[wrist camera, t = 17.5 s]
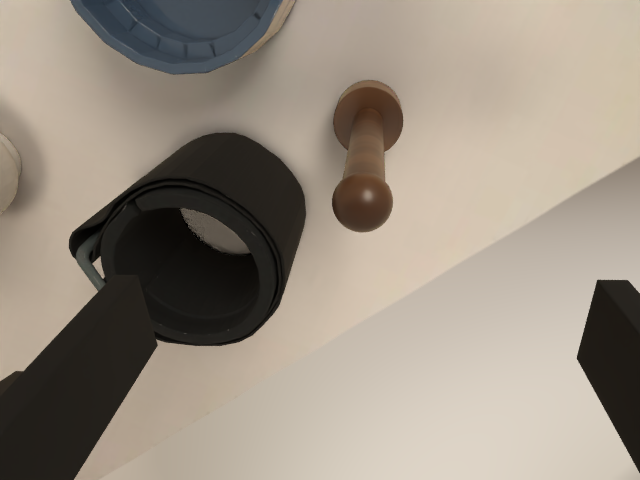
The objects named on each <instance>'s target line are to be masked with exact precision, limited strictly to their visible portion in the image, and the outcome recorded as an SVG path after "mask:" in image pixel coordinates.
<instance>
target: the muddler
mask: <svg viewBox="0 0 640 480" xmlns="http://www.w3.org/2000/svg"><path fill="white" fill-rule="evenodd" d="M333 124H334V131H335V134H336V136H337V138H338V140H339V142H340V143H341V144H342V145H343V146H344V147H345V148H346V149H347V150H348V152H347V158H346V163H345V169H344V174H343V179H342V180H341V181H340V182H339V184H338V185H337V187H336V188H335V191H334V193H333V198H332V207H333V211H334V214H335V216H336V218H337V219H338V221H339V222H340V223H341V224H342V225H343V226H344V227H346V228H348V229H350V230H352V231H355V232H369V231H373V230H375V229H377V228H379V227H380V226H382V225H383V224H384V223H385V222H386V220H387V219H388V218H389V216H390V214H391V211H392V207H393V197H392V193H391V190H390V188H389V186H388V185H387V183H386V182H385V161H384V152H385V151H387V150H388V149H390V148H391V147H392V146H393V145H394V144H395V143H396V141H397V140H398V138H399V136H400V134H401V131H402V127H403V115H402V110H401V105H400V102H399V99H398V97H397V95H396V94H395V92H394V91H393V90H392V89H391V88H390V87H389V86H387V85H386V84H384V83H382V82H379V81H374V80H366V81H361V82H358V83H355V84H354V85H352V86H350V87H349V88H348V89H347V90H346V91H345V92H344V93H343V94H342V96H341V98H340V100H339V102H338V105H337V108H336V110H335V114H334V121H333Z"/></svg>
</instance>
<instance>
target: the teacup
mask: <svg viewBox="0 0 640 480" xmlns="http://www.w3.org/2000/svg"><path fill="white" fill-rule="evenodd" d="M20 173H21V161H20V157H19V154H18V152H17V150H16V149H15V147H14V146H13V144H12V143H11V142H10V141H9V140H8V139H7V138H6V137H5V136H3V135H2V134H1V133H0V214H1V213H2V212H3V211H4V210H5V209H6V208H7V207H8V206H9V205H10V204H11V202H12V201H13V199H14V197H15V195H16V192H17V188H18V178H19V176H20Z"/></svg>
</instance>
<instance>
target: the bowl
mask: <svg viewBox="0 0 640 480" xmlns="http://www.w3.org/2000/svg"><path fill="white" fill-rule="evenodd" d="M70 1H71V3H72V5H73V7H74V8H75V10H76V11H77V13H78V14H79V15H80V16H81V18H82V19H83V20H84V21H85V22H86V23H87V24H88V25H89V26H90V27H91V28H92V30H93V31H94V32H95V33H96V34H97V35H98V36H99V37H100V38H101V39H102V41H103V42H104V43H106V44H107V45H109V46H110V47H112V48H113V49H115V50H116V51H118V52H120V53H121V54H123V55H124V56H126V57H127V58H129V59H130V60H132V61H133V62H135V63H137V64H139V65H142V66H145V67H148V68H152V69H155V70H159V71H162V72H165V73H169V74H173V75H175V74H197V73H208V72H210V71H213V70H215V69H218V68H220V67H222V66H225V65H227V64H229V63H232V62H234V61H236V60H239V59H241V58H243V57H245V56H247V55H249V54H251V53H254V52H256V51H257V50H258V49H259V48H261V47H262V46H263V45H264V44H265V43H266V42H267V41H268V40H269V39H270V38H271V37H272V36H273V35H274V34H275V33H277V32H278V31H279V29H280V28H281V27H282V25H283V23H284V21H285V19H286V18H287V16H288V14H289V12H290V10H291V8H292V7H293V5H294V3H295V1H296V0H70Z"/></svg>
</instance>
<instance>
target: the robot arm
mask: <svg viewBox="0 0 640 480" xmlns="http://www.w3.org/2000/svg"><path fill="white" fill-rule="evenodd" d="M157 346H158V345H157V341H156V337H155V334H154V330H153V327H152V323H151V320H150V316H149V313H148V309H147V306H146V302H145V299H144V295H143V292H142V288H141V285H140V281H139V278H138V275H113V277H112V278H111V279H110V280H109V281H108V282H107V283H106V284H105V285H104V286H103V287H102V288H101V289H100V290H99V291H98V293H97V294H96V295H95V296H94V297H93V298H92V299H91V300H90V301H89V302H88V303H87V304H86V305H85V306H84V307H83V308H82V310H81V311H80V312H79V313H78V314H77V315H76V316H75V317H74V318H73V319H72V320H71V321H70V322H69V323H68V324H67V326H66V327H65V328H64V329H63V330H62V331H61V332H60V333H59V334H58V335H57V336H56V337H55V338H54V339H53V340H52V342H51V343H50V344H49V345H48V346H47V347H46V348H45V349H44V350H43V351H42V352H41V353H40V354H39V355H38V356H37V358H36V359H35V360H34V361H33V362H32V363H31V364H30V365H29V366H28V367H27V368H26V369H25V370H24V371H15V372H14V373H12V374H11V375H9V376H8V377H6V378H5V379H3V380H2V381H0V480H74V478H75V477H76V475H77V474H78V472H79V470H80V469H81V467H82V466H83V464H84V463H85V461H86V459H87V458H88V456H89V455H90V453H91V451H92V450H93V448H94V447H95V445H96V443H97V442H98V440H99V439H100V437H101V435H102V434H103V432H104V431H105V429H106V427H107V426H108V424H109V423H110V421H111V419H112V418H113V416H114V415H115V413H116V411H117V410H118V408H119V407H120V405H121V403H122V402H123V400H124V399H125V397H126V395H127V394H128V392H129V391H130V389H131V387H132V386H133V384H134V383H135V381H136V379H137V378H138V376H139V375H140V373H141V371H142V370H143V368H144V367H145V365H146V363H147V362H148V360H149V359H150V357H151V355H152V354H153V352H154V351H155V349H156V347H157ZM577 360H578V361H579V363H580V365H581V367H582V369H583V371H584V372H585V374H586V376H587V378H588V380H589V382H590V383H591V385H592V387H593V389H594V391H595V392H596V394H597V396H598V398H599V400H600V402H601V403H602V405H603V407H604V409H605V411H606V412H607V414H608V416H609V418H610V420H611V421H612V423H613V425H614V427H615V429H616V431H617V432H618V434H619V436H620V438H621V440H622V442H623V443H624V445H625V447H626V449H627V451H628V453H629V454H630V456H631V458H632V460H633V462H634V463H635V465H636V467H637V469H638V471H639V473H640V293H639V292H638V291H637V290H636V289H635V288H634V287H633V285H632V284H631V283H630V282H629V281H628V280H597V283H596V287H595V291H594V295H593V298H592V302H591V306H590V310H589V313H588V317H587V321H586V325H585V328H584V332H583V336H582V340H581V343H580V347H579V351H578V355H577Z"/></svg>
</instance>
